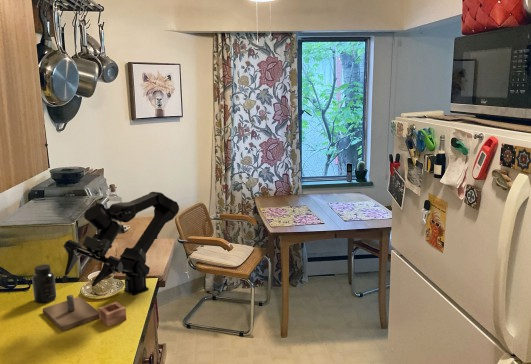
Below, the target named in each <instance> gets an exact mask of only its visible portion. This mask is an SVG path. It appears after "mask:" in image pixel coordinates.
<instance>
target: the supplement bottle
mask: <svg viewBox="0 0 531 364" xmlns="http://www.w3.org/2000/svg"><path fill="white" fill-rule="evenodd" d="M31 281H32V290H33V298H34V302H35V303H36V304H38V305H39V304H41V305H42V304H48V303H52V302H53V301H55V300H56V298H57V289H56V278H55V273H54V272H52V269H51V265H50V264H45V263H44V264H40V265H36V266H35V267H34V275H33V276H32V278H31Z"/></svg>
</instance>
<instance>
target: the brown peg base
mask: <svg viewBox="0 0 531 364" xmlns="http://www.w3.org/2000/svg"><path fill="white" fill-rule="evenodd" d="M42 313H43V314H44V315H45V317H47V318H48V319H49V321H51V322H52V323H53V324H54V325H55V326H56V327H57V328H58V329H59V330H60V332H65V331H68V330H70V329H72V328H76V327H78V326H81V325H83V324H86V323H89V322H92V321H95V320H98V319H99V310H97V309H96V308H95V307H94V306H92V305H91V304H90V303H89V302H87V301H86V300H85V299H83V298H82V297H81V296H77V297H74V295H73V294H69V295H66V300H64V301H62V302H59V303H58V302H57V303H55V304H52V305H49V306H45V307H43V308H42Z"/></svg>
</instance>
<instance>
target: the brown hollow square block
mask: <svg viewBox="0 0 531 364" xmlns="http://www.w3.org/2000/svg"><path fill="white" fill-rule="evenodd" d="M126 308H127V307H124V306H123V305H122V304H121V303H119V302H118V301H114V302H111V303H109V304H106V305H103V306H100V307H98V311H99V318H98V319H99V321H100V322H101V323H103V324H104V325H105V326H106V327H108V328H109V327H112V326H114V325H116V324H119V323H122V322H125V321H127V310H126Z"/></svg>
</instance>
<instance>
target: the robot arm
mask: <svg viewBox="0 0 531 364" xmlns="http://www.w3.org/2000/svg"><path fill="white" fill-rule="evenodd" d="M151 207H152V208H154V210H153V218H152V219H151V220H150V222H149V224H148V225H147V227H146V228H145V230H144V231H143V232H142V234H141V236H140V237H139V239H138V240H137V242H136V243H135V245H134V246H133V247H125V249H124V250H123V252H122V253H121V254H120V255H119V258H118V257H115V256H112V255H109V256H108V257H106V254H107V253H108V251H109V250H110V249H112V247H113V243H114V241H115V240H116V238H117V236H118V235H119V234H125V228H124V224H120V223H129V222H130V221H132V220H133V219H135V218H136V216H137V214H139V213H141V212H143V211H144V210H146V209H149V208H151ZM179 210H180V206H179V204H178V202H177V201H175V200H173V199H172V198H169V197H167V196H166V195H165V194H164V193H162V192H160V191H151V192H149V193H148V194H145V195H142V196H140V197H138V198H136V199H133V200H131V201H127V202H126V201H125V202H117V203H116V202H115V203H112V204H111V205H110V206H109V207H108V208H106V207H105V205H104V204H103V203H102V202H101V203H100V202H96V204H95V205H92V206H90V207H89V208H88V209H86V210H85V211H84V214H83V218H84V219H85V220H86V222H88V223H89V225H91V226H92V227H93V228H94V229H95V230H98V231H97V232H96V233H95V234H93V236H89V235H86V236H85V237H84V240H83V242H82V244H80V243H79V242H77V241H74V240H72V239H68V240H67V241H65V242H64V244H63V248H64V249H65V252H66V254H67V263H66V267H65V270H64V276H65V277H67V276H68V275H69V274H70V273H71V271H72V269H73V268H74V267H75V265H76V263H77V262H78V260H79V256H80V255H81V256H85V257H87V258H89V259H92V260H94V261H97V262H99V263H102V267H101V269H100V271H99V272H98V274H97V275H96V276H95V278H94V280H93V281H92V284H91V287H94V286H96V285H98V284H99V283H100V282H101V281H103V280H104V279H106V278H107V277H109V276H111V275H115V274H116V273H117V274H122V275H125V279H124V288H123V289H124V291H126V292H128V293H129V294H130V295H133V296H134V295H137V294H141V293H143V292H146V291H149V290H150V289H149V287H147V275H148V274H150V269H151V267H149V266H148V265H147V264H146V262H147V253H148V251H149V250H150V248H151V247H152V245H153V243H154V242H155V241H156V239H157V237H158V236H159V234H160V233H161V231H162V229H163V228H164V226H165V225H166V224H167V223H169V222H170V221H173V220H174V218H175V217H176V216H177V214H178V213H179ZM83 247H85V248H83Z"/></svg>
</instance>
